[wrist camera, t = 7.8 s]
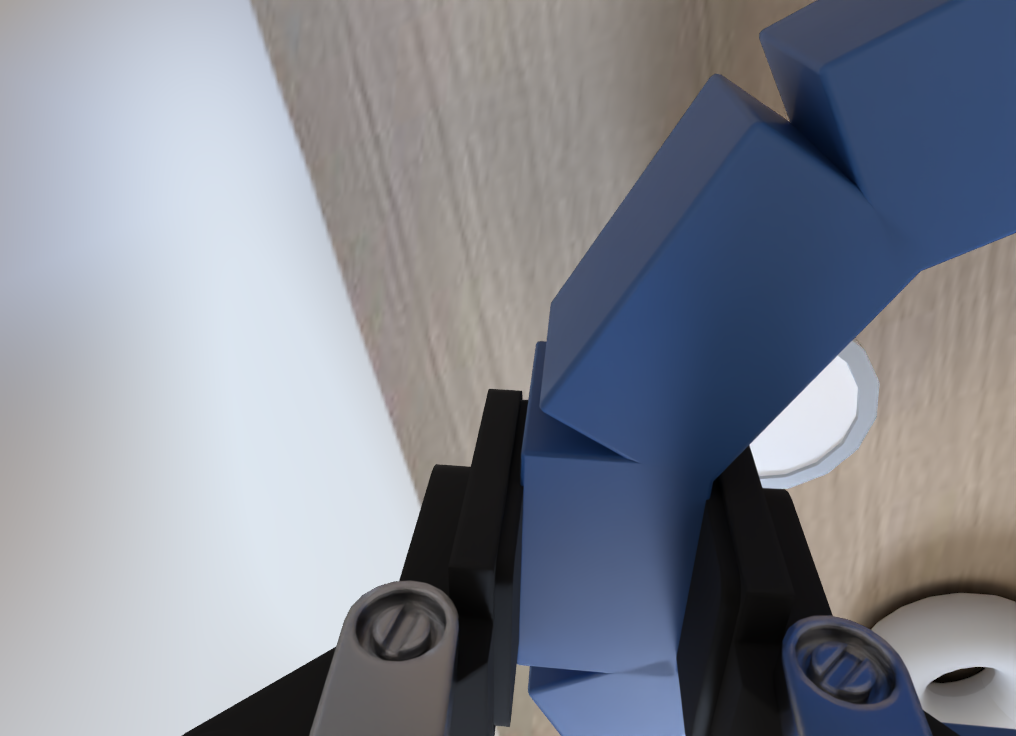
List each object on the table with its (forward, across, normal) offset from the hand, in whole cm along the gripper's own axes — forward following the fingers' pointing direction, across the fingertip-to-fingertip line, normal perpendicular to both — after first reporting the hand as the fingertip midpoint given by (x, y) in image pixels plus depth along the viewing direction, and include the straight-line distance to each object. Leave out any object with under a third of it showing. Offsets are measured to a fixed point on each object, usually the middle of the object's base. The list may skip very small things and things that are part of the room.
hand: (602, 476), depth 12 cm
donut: (+19, -20, +24) cm, 36 cm away
